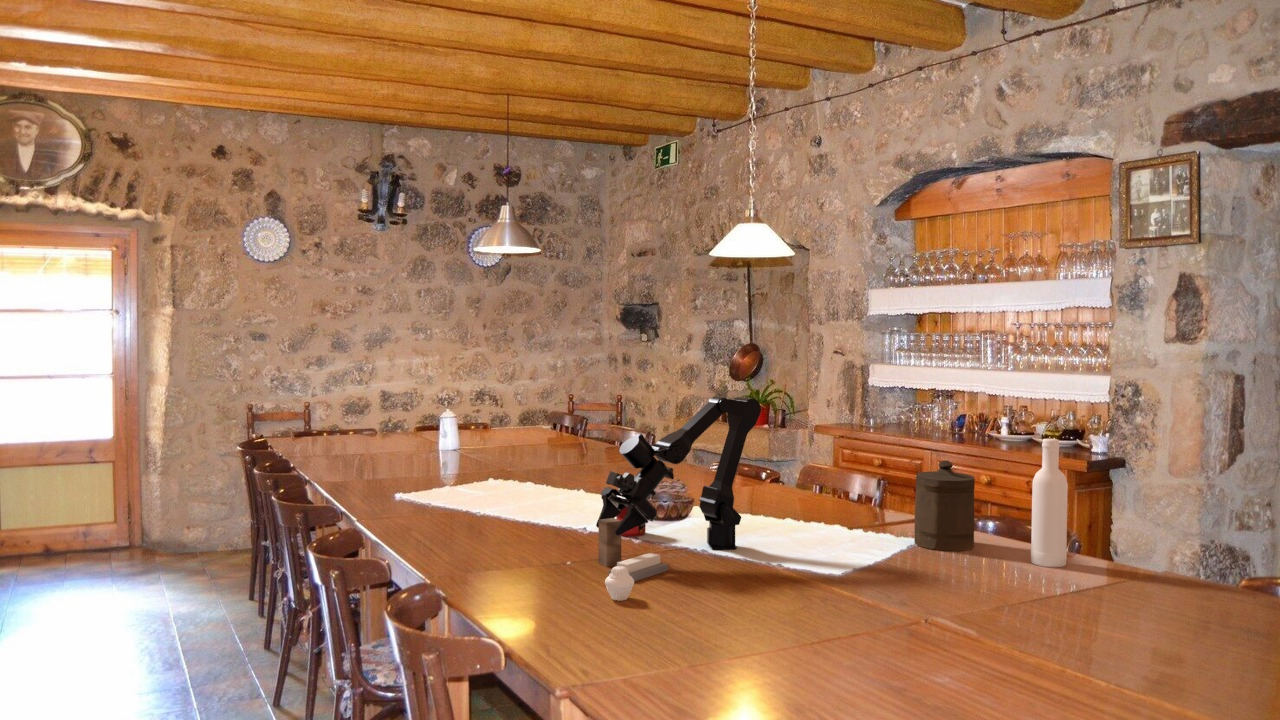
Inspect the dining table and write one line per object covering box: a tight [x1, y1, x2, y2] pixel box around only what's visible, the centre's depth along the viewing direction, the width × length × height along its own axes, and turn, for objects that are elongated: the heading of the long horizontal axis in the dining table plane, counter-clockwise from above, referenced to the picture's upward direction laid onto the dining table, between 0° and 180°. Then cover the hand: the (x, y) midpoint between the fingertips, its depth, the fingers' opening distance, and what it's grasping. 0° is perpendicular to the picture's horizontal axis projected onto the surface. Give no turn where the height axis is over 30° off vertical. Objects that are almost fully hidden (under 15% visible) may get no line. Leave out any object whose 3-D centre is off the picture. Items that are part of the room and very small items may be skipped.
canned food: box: [615, 491, 647, 538], centre depth 261 cm, size 8×8×11 cm
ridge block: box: [608, 552, 669, 583], centre depth 220 cm, size 13×7×4 cm, turn 141°
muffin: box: [604, 565, 635, 602], centre depth 200 cm, size 6×6×7 cm
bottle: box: [1030, 438, 1069, 568], centre depth 229 cm, size 8×8×30 cm
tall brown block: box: [598, 517, 622, 568], centre depth 229 cm, size 4×4×10 cm
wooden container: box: [914, 459, 976, 552], centre depth 249 cm, size 15×15×22 cm
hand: (606, 530), depth 228 cm, fingers open, 9 cm apart
